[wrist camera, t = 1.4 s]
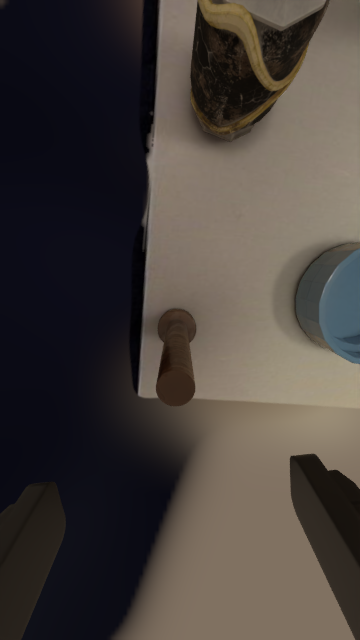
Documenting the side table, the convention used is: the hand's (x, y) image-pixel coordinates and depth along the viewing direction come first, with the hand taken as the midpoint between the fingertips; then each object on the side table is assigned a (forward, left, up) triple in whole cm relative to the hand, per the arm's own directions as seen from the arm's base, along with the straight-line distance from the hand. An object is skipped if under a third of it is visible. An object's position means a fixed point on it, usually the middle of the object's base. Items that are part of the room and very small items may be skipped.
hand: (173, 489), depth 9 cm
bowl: (-1, +20, -22) cm, 30 cm away
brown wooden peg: (0, 0, -22) cm, 22 cm away
